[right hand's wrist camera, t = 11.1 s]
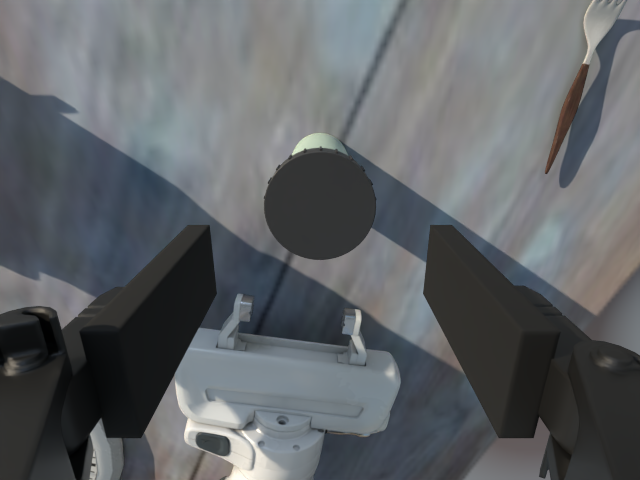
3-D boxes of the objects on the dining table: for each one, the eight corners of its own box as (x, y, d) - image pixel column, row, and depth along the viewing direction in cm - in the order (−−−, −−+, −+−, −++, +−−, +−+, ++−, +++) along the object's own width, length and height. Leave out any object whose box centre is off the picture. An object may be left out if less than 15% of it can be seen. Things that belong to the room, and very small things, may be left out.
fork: (528, 170, 35) (540, 174, 33) (601, -35, 29) (620, -44, 28) (556, 175, 35) (569, 179, 33) (633, -29, 30) (654, -37, 28)
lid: (337, 124, 21) (339, 126, 19) (391, 217, 22) (397, 226, 21) (245, 183, 22) (239, 190, 20) (304, 267, 23) (303, 279, 22)
